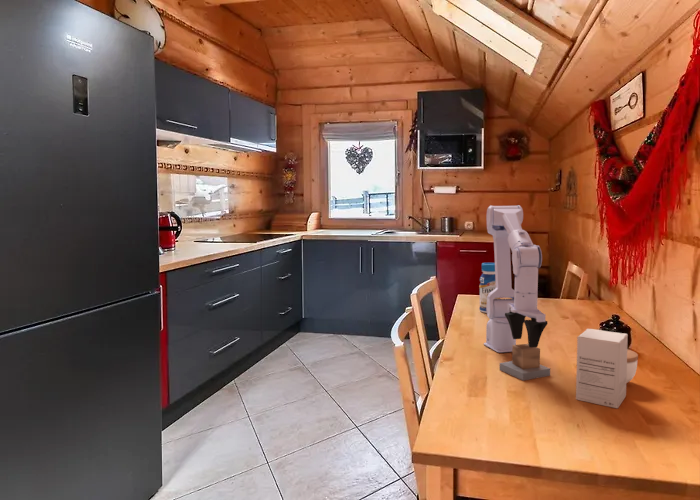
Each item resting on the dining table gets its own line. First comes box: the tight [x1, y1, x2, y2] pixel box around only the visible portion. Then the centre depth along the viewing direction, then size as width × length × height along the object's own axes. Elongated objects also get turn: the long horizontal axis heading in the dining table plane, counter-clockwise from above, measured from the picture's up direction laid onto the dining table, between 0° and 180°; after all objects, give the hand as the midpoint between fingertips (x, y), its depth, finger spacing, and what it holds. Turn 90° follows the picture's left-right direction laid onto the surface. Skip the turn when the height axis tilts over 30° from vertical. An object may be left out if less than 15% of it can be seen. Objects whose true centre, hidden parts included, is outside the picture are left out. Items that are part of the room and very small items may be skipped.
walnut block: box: [511, 343, 541, 369], centre depth 133 cm, size 5×5×5 cm
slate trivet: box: [499, 360, 551, 381], centre depth 133 cm, size 9×9×2 cm
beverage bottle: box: [478, 262, 501, 314], centre depth 206 cm, size 8×8×20 cm
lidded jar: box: [626, 348, 639, 384], centre depth 125 cm, size 11×11×9 cm
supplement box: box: [575, 328, 629, 409], centre depth 115 cm, size 9×9×15 cm
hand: (524, 342), depth 133 cm, fingers open, 7 cm apart
